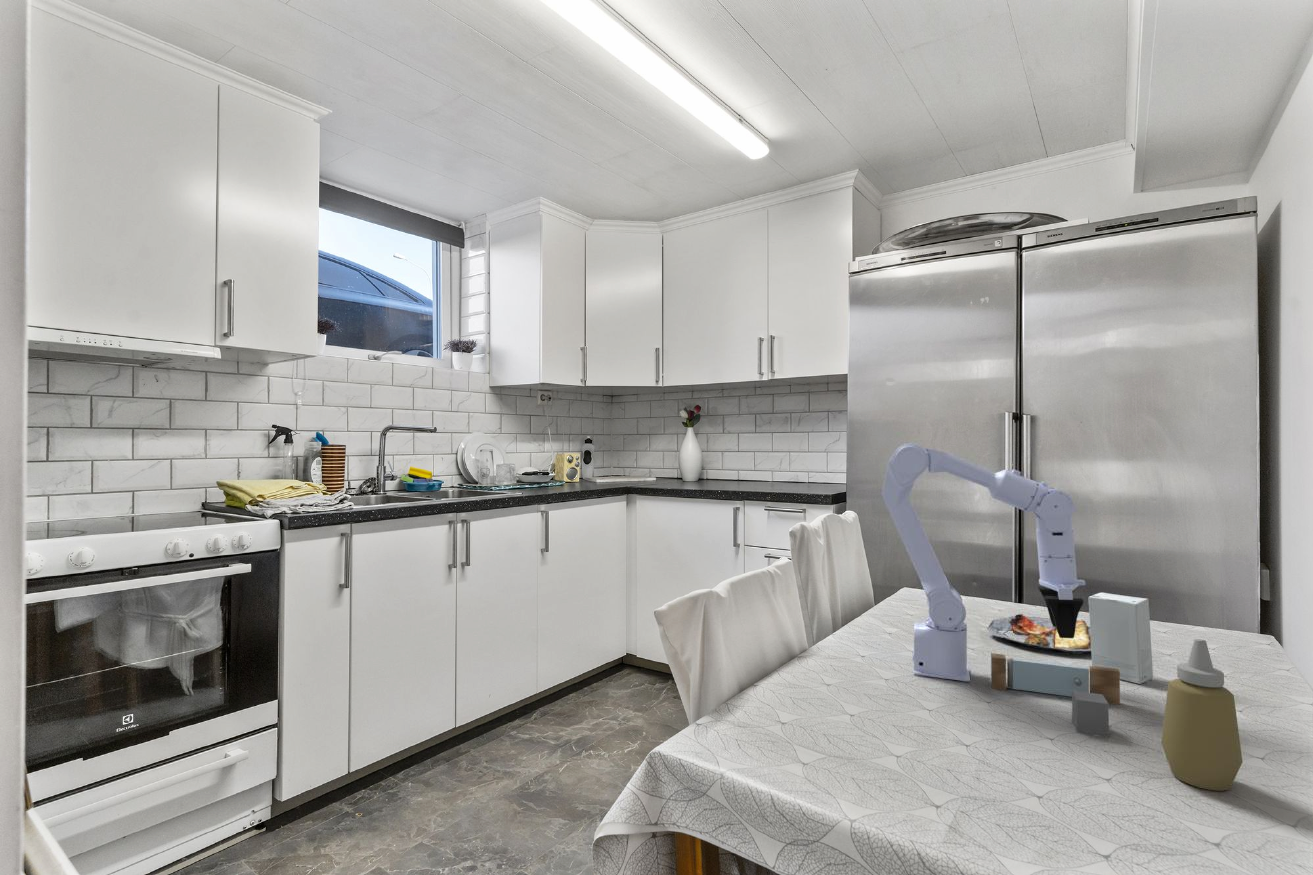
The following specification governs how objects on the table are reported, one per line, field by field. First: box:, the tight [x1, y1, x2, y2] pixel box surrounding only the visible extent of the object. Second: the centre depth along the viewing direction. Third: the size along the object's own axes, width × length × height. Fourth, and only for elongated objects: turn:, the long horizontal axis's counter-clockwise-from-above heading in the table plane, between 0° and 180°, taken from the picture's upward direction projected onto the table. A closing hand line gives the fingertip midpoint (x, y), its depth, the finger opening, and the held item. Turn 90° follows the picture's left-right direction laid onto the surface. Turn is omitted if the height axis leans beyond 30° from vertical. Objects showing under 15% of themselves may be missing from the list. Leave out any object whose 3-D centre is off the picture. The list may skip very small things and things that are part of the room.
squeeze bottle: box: [1160, 638, 1244, 792], centre depth 84 cm, size 8×8×18 cm
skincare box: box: [1088, 591, 1154, 685], centre depth 123 cm, size 8×6×15 cm
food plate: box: [986, 613, 1091, 655], centre depth 145 cm, size 25×23×4 cm
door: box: [1006, 657, 1090, 698], centre depth 113 cm, size 12×2×5 cm, turn 66°
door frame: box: [990, 652, 1121, 706], centre depth 113 cm, size 19×2×6 cm, turn 66°
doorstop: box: [1071, 691, 1110, 738], centre depth 99 cm, size 4×4×5 cm
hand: (1062, 631), depth 117 cm, fingers open, 7 cm apart
